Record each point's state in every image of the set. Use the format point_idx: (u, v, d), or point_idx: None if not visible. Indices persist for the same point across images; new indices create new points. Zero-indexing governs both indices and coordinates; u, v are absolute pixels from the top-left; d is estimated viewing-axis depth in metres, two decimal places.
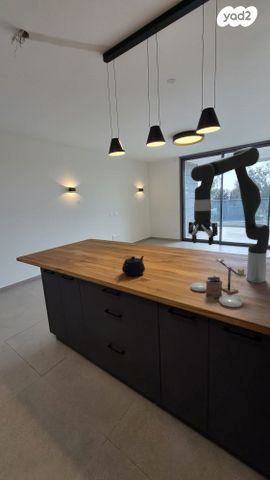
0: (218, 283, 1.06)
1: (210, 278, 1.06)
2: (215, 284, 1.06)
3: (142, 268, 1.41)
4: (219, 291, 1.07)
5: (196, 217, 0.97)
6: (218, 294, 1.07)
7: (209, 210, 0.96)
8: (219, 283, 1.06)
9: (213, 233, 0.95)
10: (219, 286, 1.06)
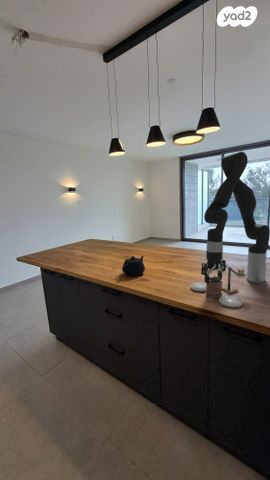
0: (218, 283, 1.06)
1: (210, 278, 1.06)
2: (215, 284, 1.06)
3: (142, 268, 1.41)
4: (219, 291, 1.07)
5: (218, 258, 1.01)
6: (218, 294, 1.07)
7: None
8: (219, 283, 1.06)
9: (224, 269, 1.08)
10: (219, 286, 1.06)
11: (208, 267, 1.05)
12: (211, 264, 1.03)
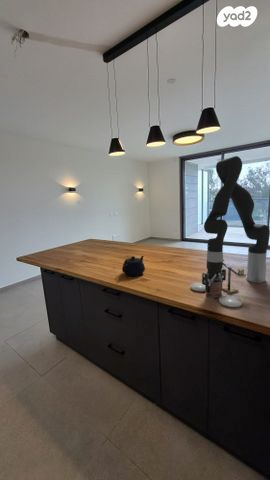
0: (218, 283, 1.06)
1: None
2: (215, 284, 1.06)
3: (142, 268, 1.41)
4: (219, 291, 1.07)
5: (219, 268, 1.02)
6: (218, 294, 1.07)
7: None
8: (219, 283, 1.06)
9: (224, 278, 1.08)
10: (219, 286, 1.06)
11: (209, 277, 1.06)
12: (211, 274, 1.04)
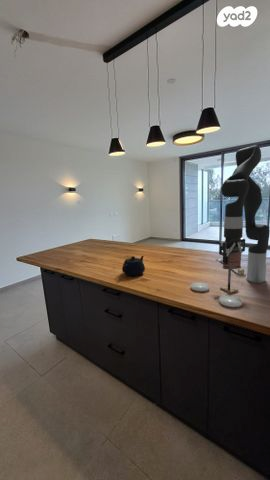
0: (237, 254, 0.94)
1: None
2: (234, 255, 0.94)
3: (142, 268, 1.41)
4: (238, 263, 0.95)
5: (239, 235, 0.90)
6: (237, 266, 0.95)
7: None
8: (238, 254, 0.94)
9: (244, 249, 0.97)
10: (238, 257, 0.95)
11: (226, 246, 0.94)
12: (230, 243, 0.92)
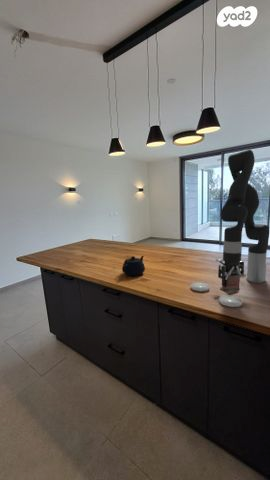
0: (236, 277, 0.96)
1: None
2: (232, 278, 0.96)
3: (142, 268, 1.41)
4: (237, 285, 0.97)
5: (237, 259, 0.92)
6: (235, 289, 0.97)
7: None
8: (237, 277, 0.96)
9: (242, 271, 0.99)
10: (237, 280, 0.96)
11: (225, 269, 0.96)
12: (229, 266, 0.94)
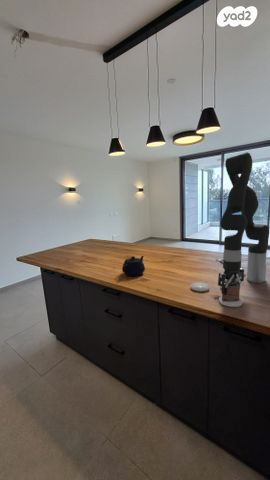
0: (236, 287, 0.96)
1: None
2: (232, 288, 0.97)
3: (142, 268, 1.41)
4: (237, 296, 0.97)
5: (237, 268, 0.93)
6: (235, 299, 0.98)
7: None
8: (237, 287, 0.97)
9: (242, 278, 0.99)
10: (237, 290, 0.97)
11: (225, 277, 0.96)
12: (229, 274, 0.95)
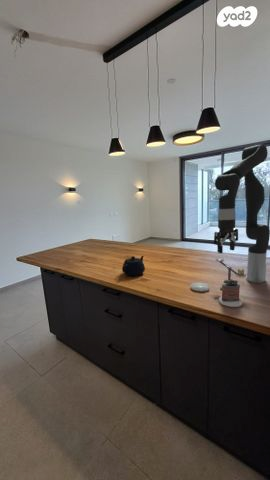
0: (235, 287, 0.96)
1: (227, 281, 0.97)
2: (232, 288, 0.97)
3: (142, 268, 1.41)
4: (236, 296, 0.97)
5: (232, 226, 0.97)
6: (235, 299, 0.98)
7: None
8: (237, 287, 0.97)
9: (237, 238, 1.04)
10: (236, 290, 0.97)
11: (221, 236, 1.01)
12: (224, 233, 0.99)
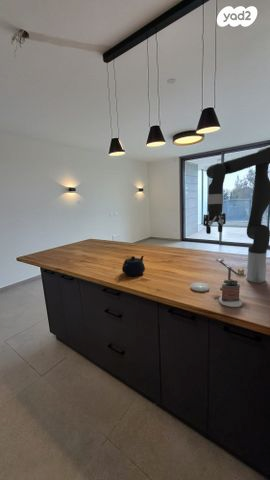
0: (235, 287, 0.96)
1: (227, 281, 0.97)
2: (232, 288, 0.97)
3: (142, 268, 1.41)
4: (236, 296, 0.97)
5: (219, 209, 1.10)
6: (235, 299, 0.98)
7: None
8: (237, 287, 0.97)
9: (224, 221, 1.17)
10: (236, 290, 0.97)
11: (209, 219, 1.14)
12: (212, 216, 1.12)
